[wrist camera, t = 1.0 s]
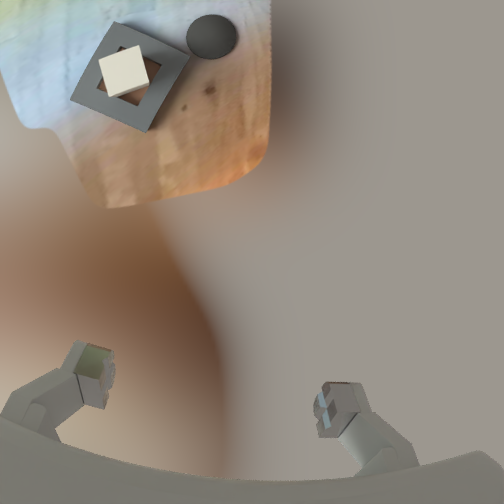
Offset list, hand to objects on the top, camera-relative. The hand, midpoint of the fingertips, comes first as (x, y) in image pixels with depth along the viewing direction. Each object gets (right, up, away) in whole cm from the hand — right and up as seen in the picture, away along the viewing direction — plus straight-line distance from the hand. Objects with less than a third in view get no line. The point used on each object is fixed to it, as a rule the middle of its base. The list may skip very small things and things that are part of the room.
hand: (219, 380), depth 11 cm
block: (-15, +29, +25) cm, 41 cm away
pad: (-5, +35, +26) cm, 44 cm away
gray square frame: (-15, +29, +25) cm, 41 cm away
